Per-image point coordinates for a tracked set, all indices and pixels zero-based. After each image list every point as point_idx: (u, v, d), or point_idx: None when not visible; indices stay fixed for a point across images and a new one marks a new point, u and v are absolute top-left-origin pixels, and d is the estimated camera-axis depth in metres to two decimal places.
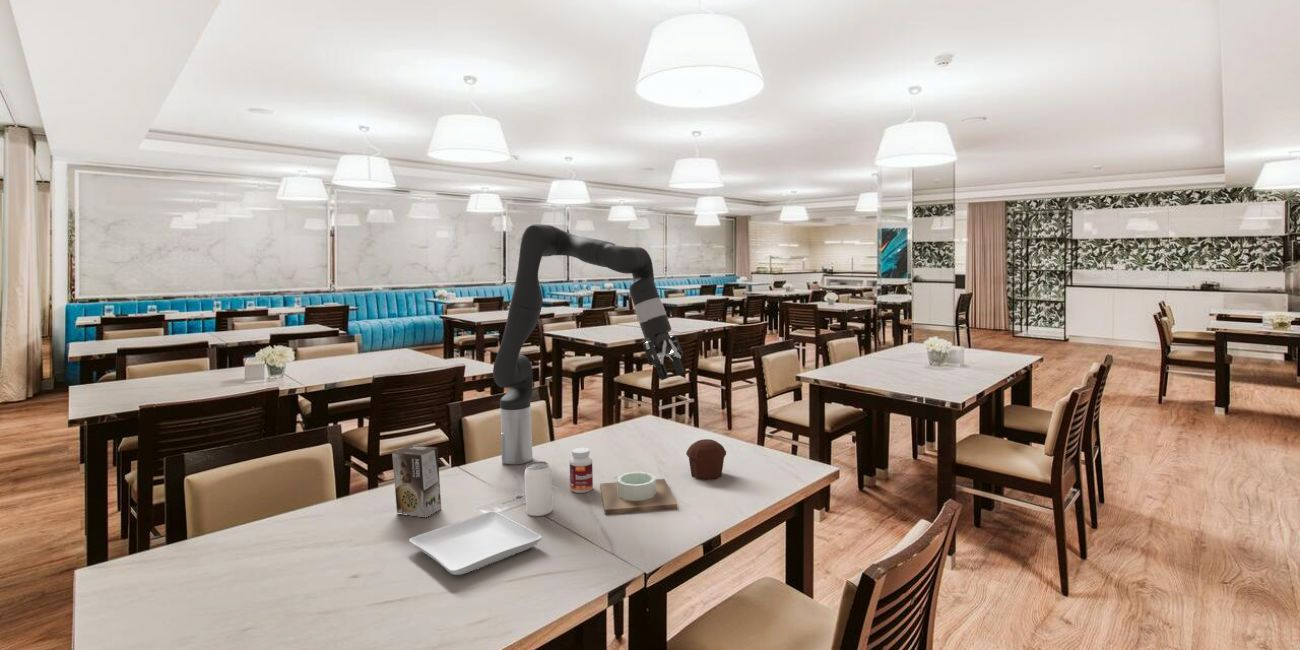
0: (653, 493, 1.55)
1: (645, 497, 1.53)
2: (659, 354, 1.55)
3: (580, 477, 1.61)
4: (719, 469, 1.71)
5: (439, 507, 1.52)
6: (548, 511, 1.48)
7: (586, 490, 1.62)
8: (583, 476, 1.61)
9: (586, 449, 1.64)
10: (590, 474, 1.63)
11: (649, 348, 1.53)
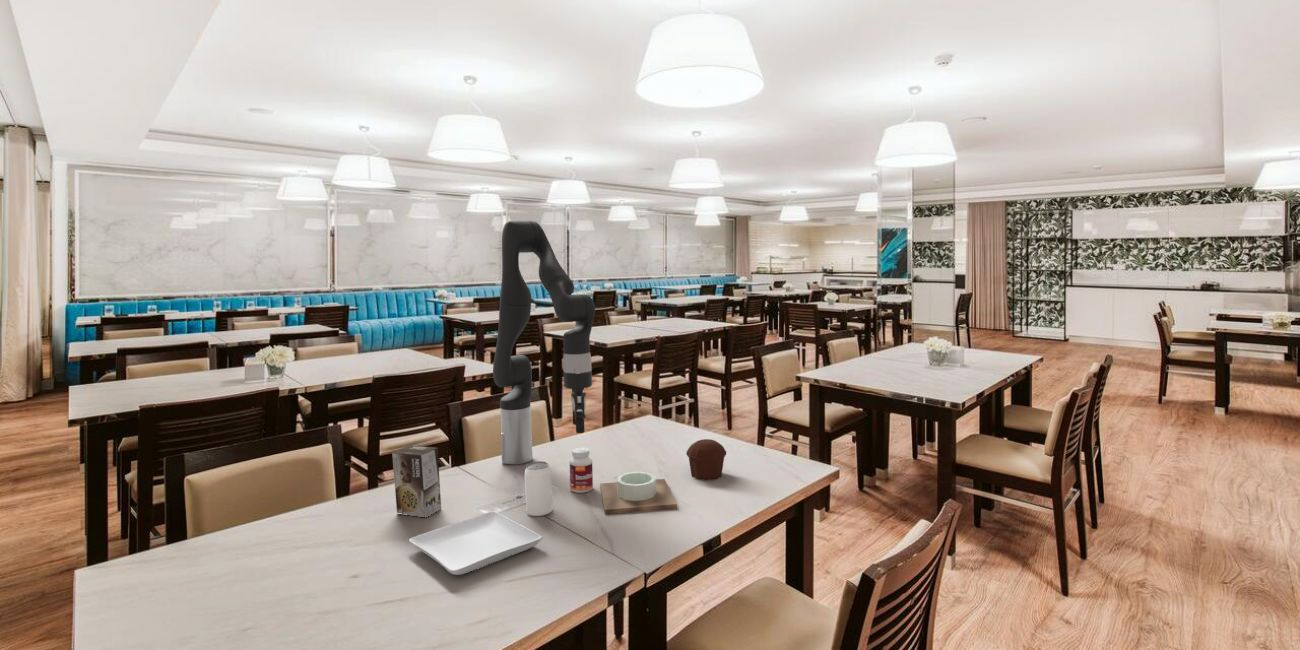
0: (653, 493, 1.55)
1: (645, 497, 1.53)
2: (582, 408, 1.59)
3: (580, 477, 1.61)
4: (719, 469, 1.71)
5: (439, 507, 1.52)
6: (548, 511, 1.48)
7: (586, 490, 1.62)
8: (583, 476, 1.61)
9: (586, 449, 1.64)
10: (590, 474, 1.63)
11: (580, 402, 1.56)
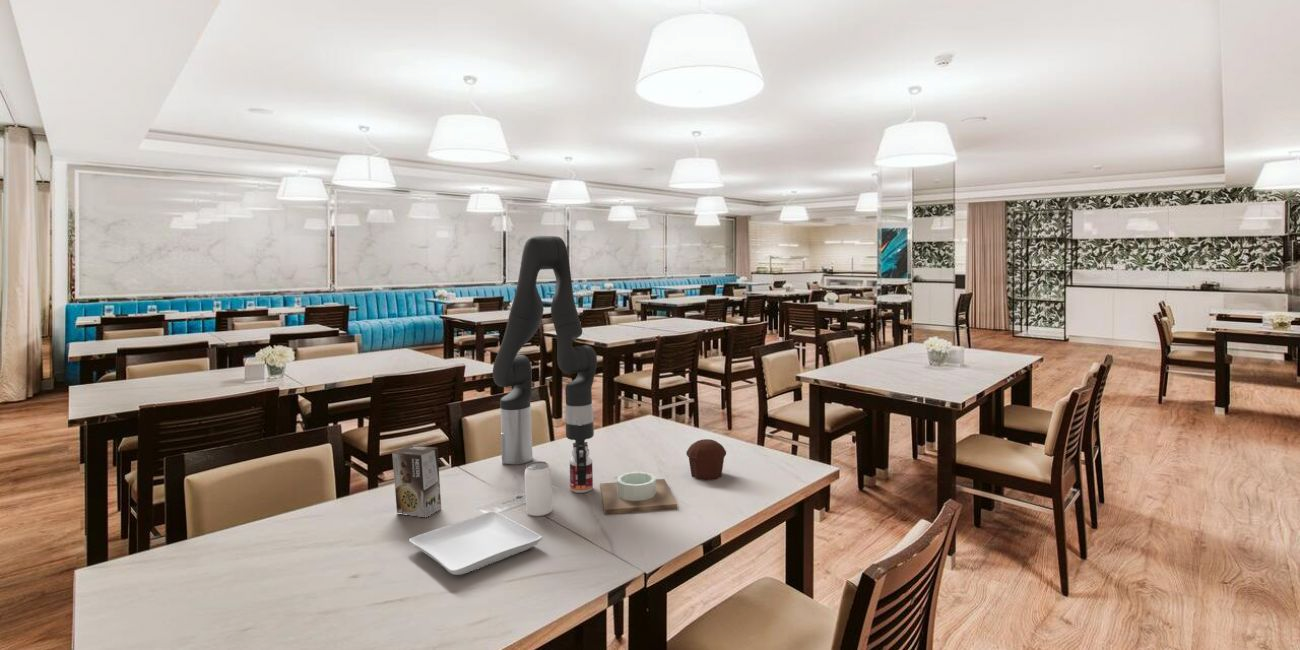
0: (653, 493, 1.55)
1: (645, 497, 1.53)
2: None
3: None
4: (719, 469, 1.71)
5: (439, 507, 1.52)
6: (548, 511, 1.48)
7: (586, 490, 1.62)
8: None
9: None
10: (590, 474, 1.63)
11: (582, 457, 1.57)
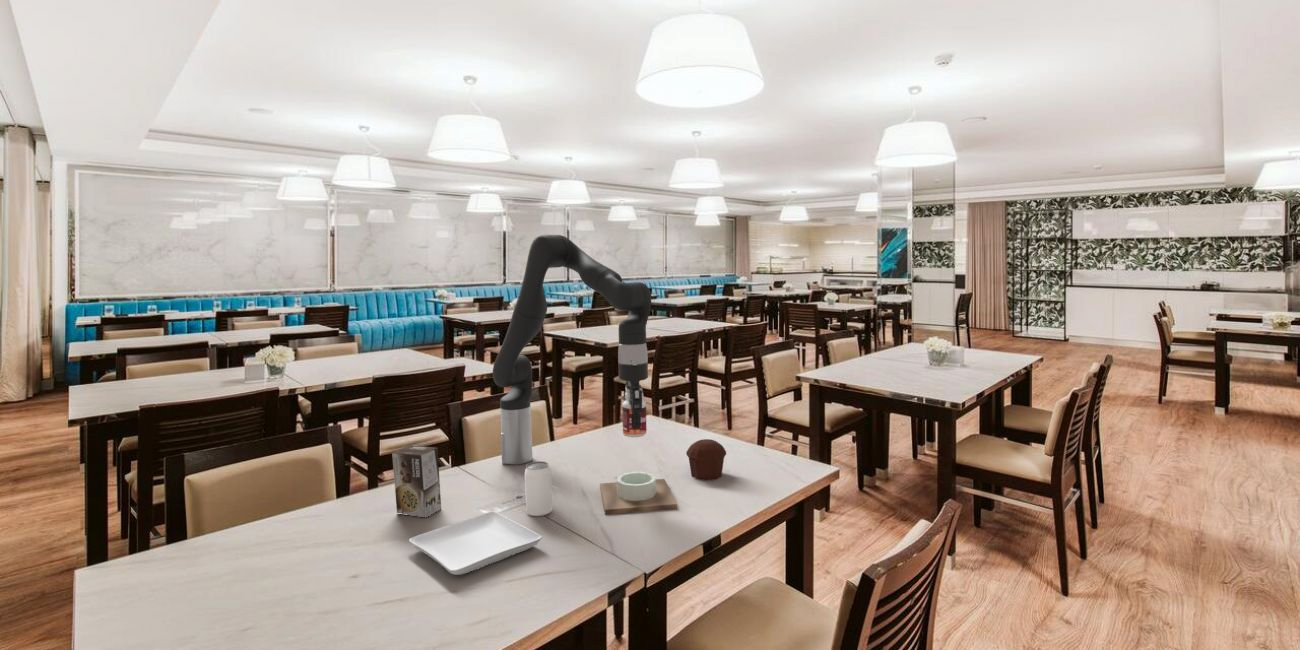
0: (653, 493, 1.55)
1: (645, 497, 1.53)
2: None
3: None
4: (719, 469, 1.71)
5: (439, 507, 1.52)
6: (548, 511, 1.48)
7: (640, 434, 1.54)
8: None
9: None
10: (644, 418, 1.54)
11: (638, 398, 1.49)
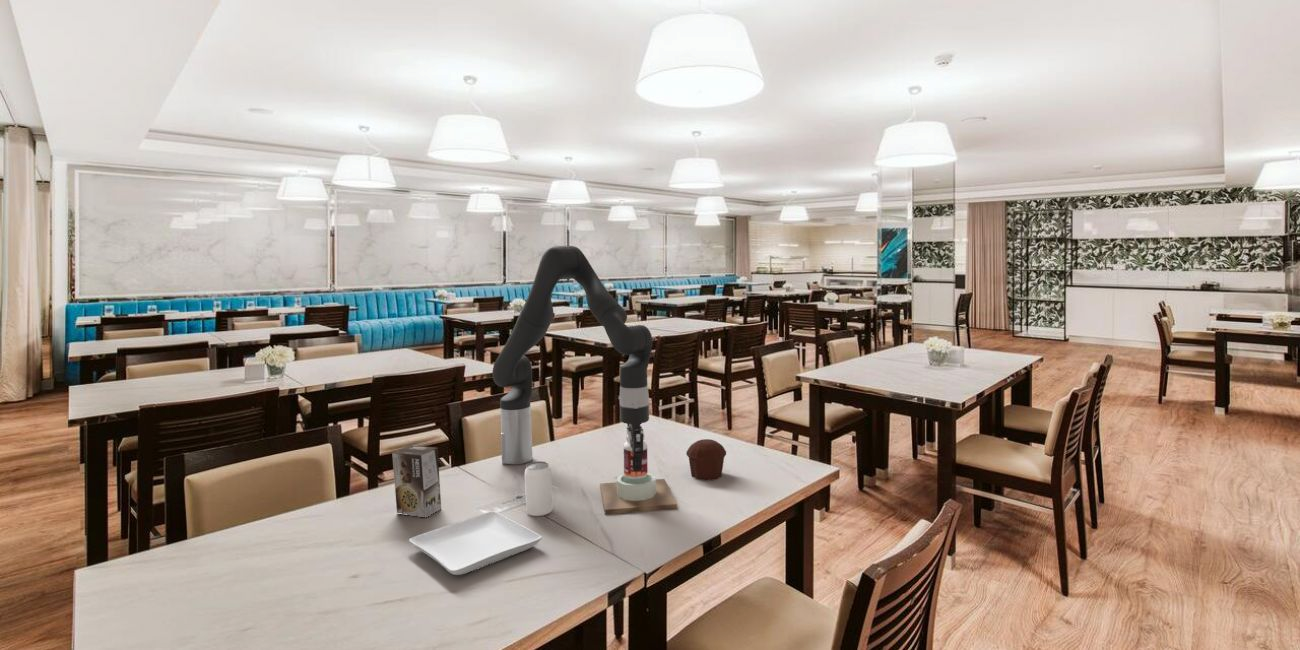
0: (653, 493, 1.55)
1: (645, 497, 1.53)
2: None
3: None
4: (719, 469, 1.71)
5: (439, 507, 1.52)
6: (548, 511, 1.48)
7: (641, 476, 1.55)
8: None
9: None
10: (645, 460, 1.56)
11: (639, 441, 1.50)
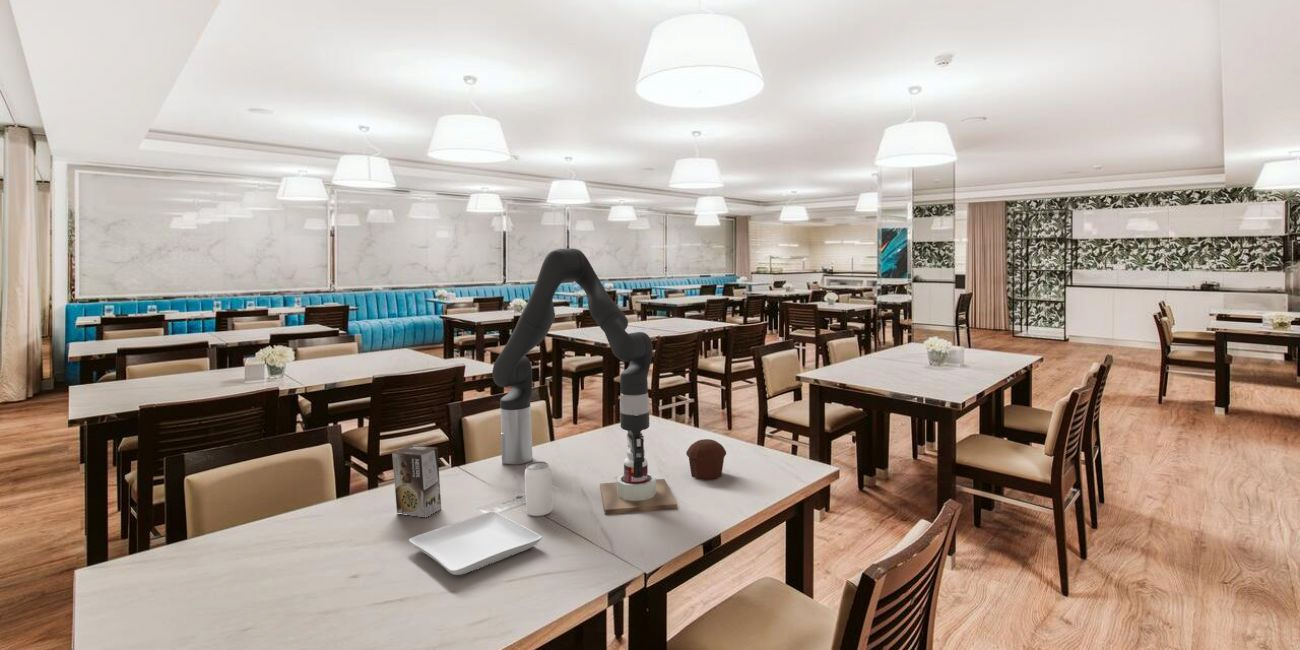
0: (653, 493, 1.55)
1: (645, 497, 1.53)
2: None
3: (636, 479, 1.54)
4: (719, 469, 1.71)
5: (439, 507, 1.52)
6: (548, 511, 1.48)
7: None
8: (639, 478, 1.54)
9: None
10: (646, 476, 1.56)
11: (640, 446, 1.50)
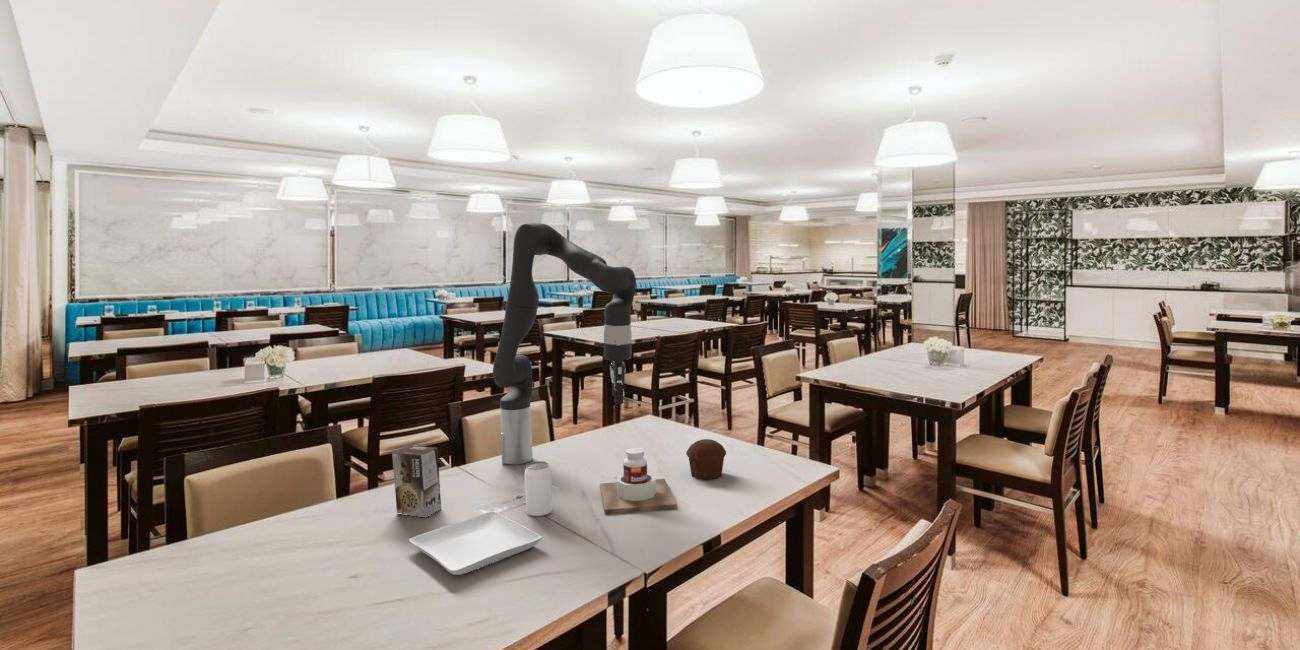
0: (653, 493, 1.55)
1: (645, 497, 1.53)
2: (621, 379, 1.60)
3: (636, 479, 1.54)
4: (719, 469, 1.71)
5: (439, 507, 1.52)
6: (548, 511, 1.48)
7: None
8: (639, 478, 1.54)
9: (640, 449, 1.57)
10: (645, 475, 1.56)
11: (621, 374, 1.57)
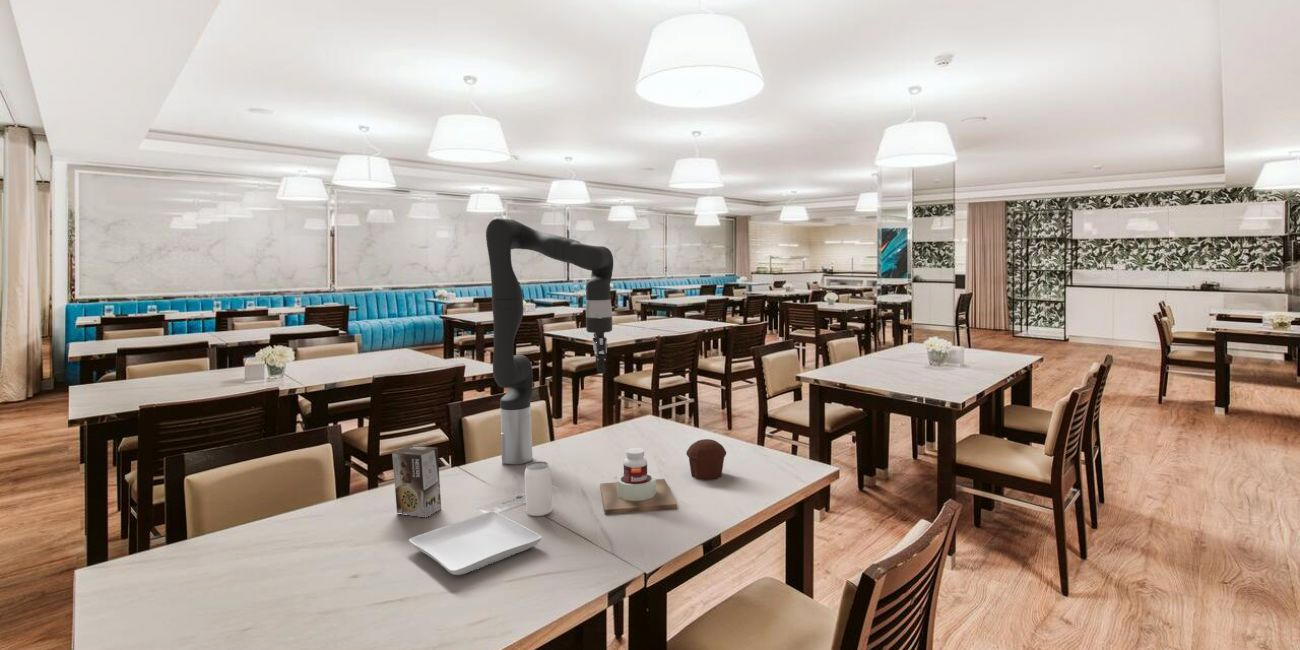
0: (653, 493, 1.55)
1: (645, 497, 1.53)
2: (603, 350, 1.72)
3: (636, 479, 1.54)
4: (719, 469, 1.71)
5: (439, 507, 1.52)
6: (548, 511, 1.48)
7: None
8: (639, 478, 1.54)
9: (641, 449, 1.57)
10: (645, 475, 1.56)
11: (602, 344, 1.69)
